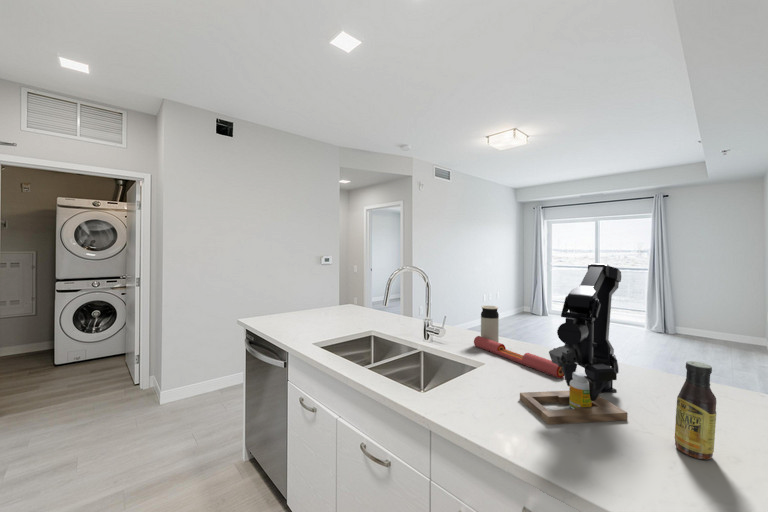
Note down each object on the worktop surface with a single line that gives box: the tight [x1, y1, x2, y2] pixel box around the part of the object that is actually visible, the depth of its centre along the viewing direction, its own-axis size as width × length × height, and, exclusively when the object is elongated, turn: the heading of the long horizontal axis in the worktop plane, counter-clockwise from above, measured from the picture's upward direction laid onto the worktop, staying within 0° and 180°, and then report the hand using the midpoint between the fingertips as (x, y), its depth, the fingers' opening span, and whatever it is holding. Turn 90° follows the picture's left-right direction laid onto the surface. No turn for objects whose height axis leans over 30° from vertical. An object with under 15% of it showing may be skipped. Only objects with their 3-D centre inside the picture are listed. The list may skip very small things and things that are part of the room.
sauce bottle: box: [674, 360, 717, 461], centre depth 70 cm, size 7×6×20 cm
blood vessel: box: [473, 335, 565, 379], centre depth 131 cm, size 42×5×5 cm, turn 26°
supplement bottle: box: [569, 371, 592, 409], centre depth 90 cm, size 5×5×10 cm
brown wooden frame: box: [519, 390, 629, 425], centre depth 90 cm, size 22×14×2 cm, turn 96°
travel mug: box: [480, 305, 500, 343], centre depth 152 cm, size 8×8×18 cm
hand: (580, 393), depth 90 cm, fingers open, 9 cm apart
